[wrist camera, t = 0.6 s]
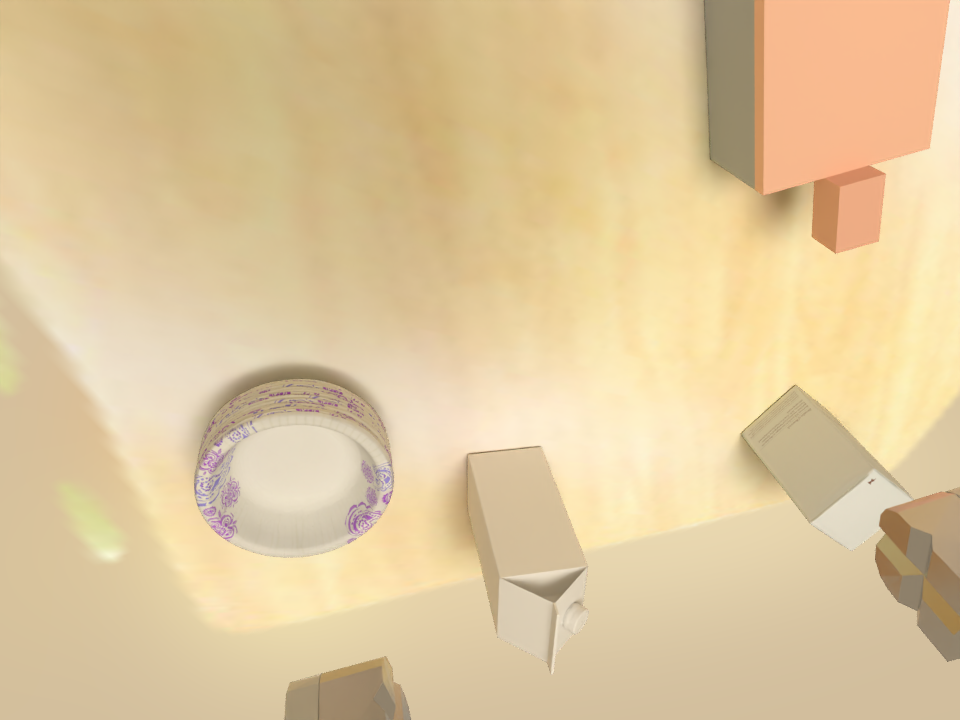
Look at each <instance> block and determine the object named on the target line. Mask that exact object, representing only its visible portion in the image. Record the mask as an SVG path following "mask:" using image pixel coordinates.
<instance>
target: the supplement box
mask: <svg viewBox="0 0 960 720" xmlns="http://www.w3.org/2000/svg"><path fill="white" fill-rule="evenodd" d="M742 436H743V438H744V439H745V440H746V442H747V443H748V444H749V445H750V447H751V448H752V449H753V451H754V452H755V453H756V455H757V456H758V457H759V458H760V460H761V461H762V462H763V464H764V465H765V466H766V467H767V469H768V470H769V471H770V473H771V474H772V475H773V476H774V478H775V479H776V480H777V481H778V483H779V484H780V485H781V487H782V488H783V489H784V490H785V492H786V493H787V494H788V496H789V497H790V498H791V500H792V501H793V502H794V503H795V505H796V506H797V507H798V509H799V510H800V511H801V512H802V514H803V515H804V516H805V518H806V519H807V520H808V522H809V523H810V524H811V525H813V526H814V527H816V528H817V529H818V530H820V531H821V532H823V533H824V534H826V535H828V536H829V537H830V538H832V539H833V540H835V541H836V542H838V543H839V544H841V545H843V546H844V547H846V548H847V549H849V550H850V551H853V550H854V549H855V548H857V547H858V546H859V545H861V544H862V543H863V542H865V541H866V540H867V539H868V538H870V537H871V536H872V535H873V534H875V533H876V532H877V531H879V530H880V529H881V528H880V527H879V521H880V515H881V514H882V513H883V511H884V510H885V509H887V508H890V507H894V506H897V505H900V504H903V503H906V502H910V501H913V500H914V499H913V498H912V497H911V496H910V494H909V493H908V492H907V491H906V490H905V489H904V488H903V487H902V486H901V485H900V484H899V483H898V481H897V480H895V478H894V477H892V475H891V474H890V473H889V472H888V471H887V470H886V469H885V468H884V467H883V466H882V465H881V464H880V463H879V462H878V461H877V460H876V459H875V458H874V457H873V456H872V455H871V454H870V453H869V452H868V451H867V450H866V449H865V448H864V447H863V446H862V445H861V444H860V443H859V442H858V441H857V440H856V439H855V438H854V437H853V436H852V435H851V434H850V433H849V431H848V430H847V429H846V428H845V427H844V426H843V425H842V424H841V423H840V422H839V421H838V420H837V419H836V418H835V417H834V416H833V415H832V414H831V413H830V412H829V411H828V410H826V409H825V408H824V407H823V406H822V405H820V404H819V403H818V402H817V401H815V400H814V399H813V398H812V397H810V396H809V395H808V394H807V393H805V392H804V391H803V390H802V389H800V388H799V387H798V386H796V385H795V386H794V387H793V388H791V389H790V390H789V391H788V392H787V393H786V394H785V395H783V396H782V397H781V398H780V399H779V400H778V401H777V402H776V403H774V404H773V405H772V406H771V407H770V408H769V409H768V410H766V411H765V412H764V413H763V414H762V415H761V416H760V417H759V418H758V419H756V420H755V421H754V422H753V423H752V424H751V425H750V426H749V427H747V428H746V429H745V430H744V431H743V432H742Z"/></svg>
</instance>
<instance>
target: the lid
mask: <svg viewBox="0 0 960 720" xmlns="http://www.w3.org/2000/svg"><path fill="white" fill-rule="evenodd" d="M949 3H950V0H754V76H755V190H756V191H758V192H759V193H760V194H762V195H767V194H770V193H774V192H778V191H781V190H785V189H788V188H792V187H795V186H799V185H802V184H806V183H809V182H813V181H814V200H813V221H812V237H813V238H814V239H815V240H817V241H818V242H820V243H821V244H823V245H824V246H825V247H827V248H828V249H830V250H831V251H833V252H834V253H835V254H836V253H839V252H843V251H846V250H850V249H853V248H857V247H860V246H864V245H867V244H871V243H874V242H878V241H879V234H880V224H881V215H882V205H883V196H884V186H885V177H886V174H885V173H883V172H881V171H879V170H877V169H875V168H873V167H871V166H869V165H873V164H876V163H880V162H883V161H887V160H890V159H894V158H897V157H901V156H904V155H908V154H911V153H915V152H918V151H922V150H925V149H929V148H930V142H931V134H932V127H933V120H934V112H935V105H936V98H937V91H938V83H939V76H940V69H941V61H942V54H943V47H944V40H945V32H946V25H947V18H948V11H949Z"/></svg>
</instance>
